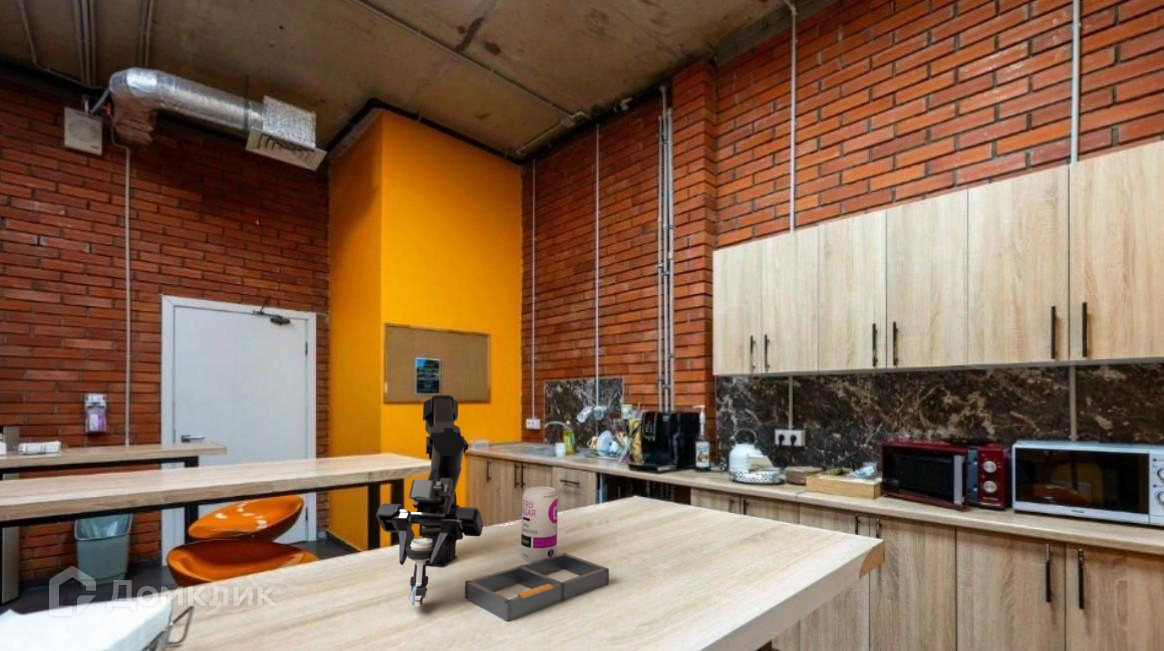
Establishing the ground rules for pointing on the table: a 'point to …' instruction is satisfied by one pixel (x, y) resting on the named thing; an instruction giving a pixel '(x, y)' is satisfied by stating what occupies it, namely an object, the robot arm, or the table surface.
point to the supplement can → (539, 523)
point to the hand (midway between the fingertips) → (416, 564)
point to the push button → (419, 567)
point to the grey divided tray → (535, 585)
